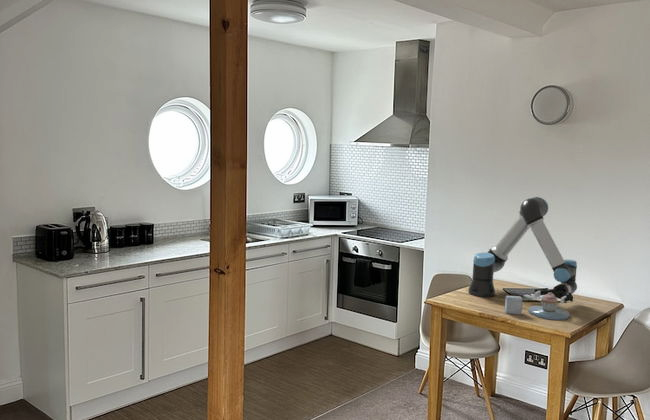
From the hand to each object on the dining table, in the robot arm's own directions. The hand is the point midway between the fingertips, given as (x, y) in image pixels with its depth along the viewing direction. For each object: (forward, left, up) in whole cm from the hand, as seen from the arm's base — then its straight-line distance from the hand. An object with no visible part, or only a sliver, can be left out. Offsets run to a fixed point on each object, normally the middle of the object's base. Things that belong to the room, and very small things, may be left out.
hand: (548, 298), depth 313 cm
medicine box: (-17, +1, -10) cm, 20 cm away
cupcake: (+2, +3, -8) cm, 8 cm away
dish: (+2, +3, -9) cm, 10 cm away
